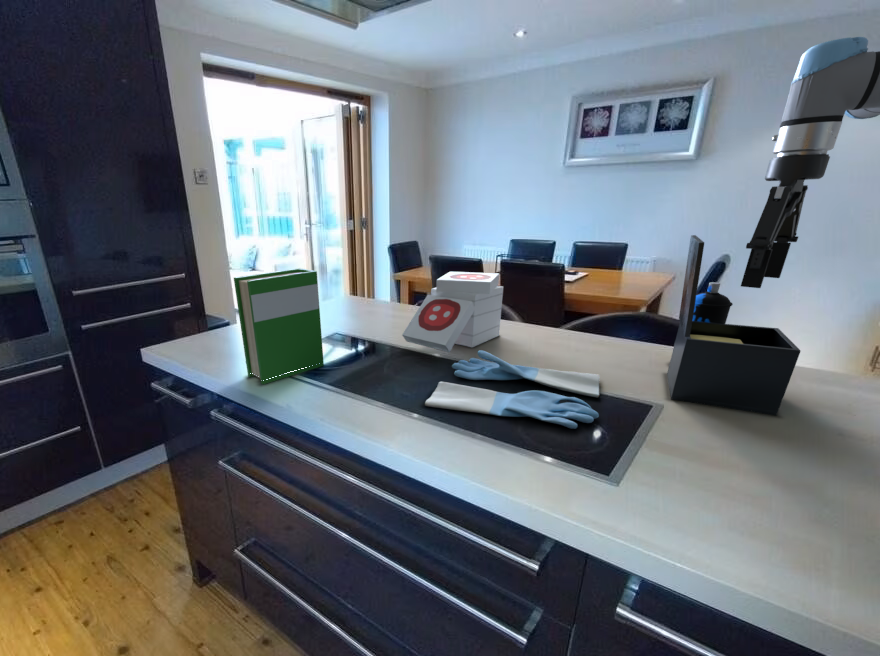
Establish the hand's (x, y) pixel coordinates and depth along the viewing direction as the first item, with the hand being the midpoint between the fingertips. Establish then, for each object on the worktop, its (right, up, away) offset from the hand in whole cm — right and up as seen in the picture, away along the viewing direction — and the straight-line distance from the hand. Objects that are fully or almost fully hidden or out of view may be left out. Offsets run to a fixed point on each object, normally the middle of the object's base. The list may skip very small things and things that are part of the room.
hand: (760, 282), depth 82 cm
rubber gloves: (-42, -21, +13) cm, 49 cm away
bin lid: (-9, +1, +5) cm, 10 cm away
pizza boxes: (-48, -7, +48) cm, 68 cm away
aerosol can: (+4, -15, +23) cm, 28 cm away
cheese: (+2, -16, +6) cm, 17 cm away
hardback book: (-94, -16, +29) cm, 100 cm away
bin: (-1, -21, +10) cm, 23 cm away
